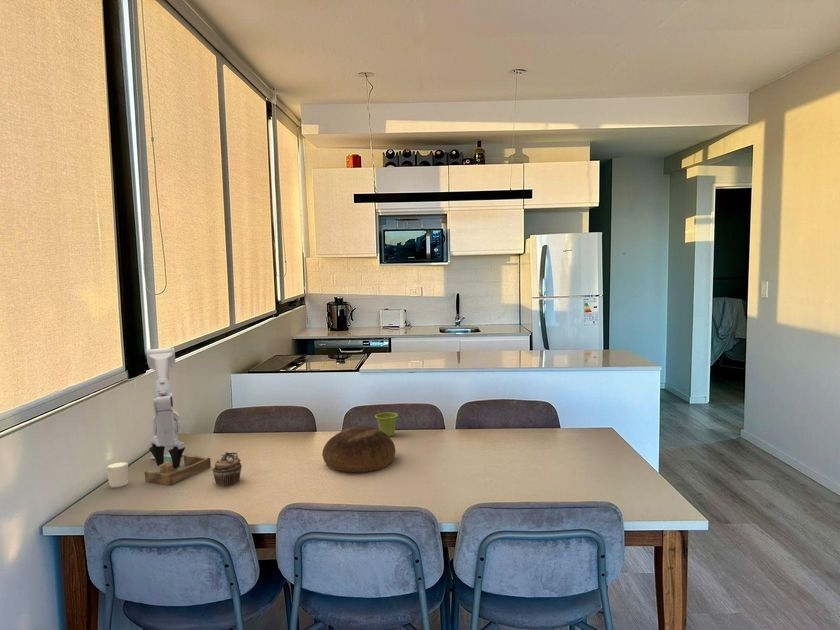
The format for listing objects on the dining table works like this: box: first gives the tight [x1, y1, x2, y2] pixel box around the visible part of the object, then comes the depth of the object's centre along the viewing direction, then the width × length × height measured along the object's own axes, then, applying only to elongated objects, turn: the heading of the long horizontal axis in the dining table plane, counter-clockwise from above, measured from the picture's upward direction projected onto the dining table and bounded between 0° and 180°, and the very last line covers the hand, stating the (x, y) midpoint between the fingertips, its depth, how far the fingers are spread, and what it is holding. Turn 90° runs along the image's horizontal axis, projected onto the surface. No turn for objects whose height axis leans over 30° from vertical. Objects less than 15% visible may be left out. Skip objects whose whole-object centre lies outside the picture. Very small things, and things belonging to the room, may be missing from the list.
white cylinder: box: [105, 461, 129, 488], centre depth 207 cm, size 7×7×7 cm
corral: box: [144, 454, 212, 486], centre depth 215 cm, size 12×19×4 cm, turn 156°
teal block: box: [164, 454, 181, 468], centre depth 223 cm, size 4×4×5 cm
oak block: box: [158, 462, 178, 474], centre depth 212 cm, size 4×4×5 cm
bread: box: [321, 425, 397, 473], centre depth 221 cm, size 26×27×13 cm
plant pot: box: [375, 412, 399, 438], centre depth 254 cm, size 9×9×9 cm
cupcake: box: [211, 451, 242, 487], centre depth 205 cm, size 10×10×10 cm
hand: (168, 466), depth 212 cm, fingers open, 7 cm apart
